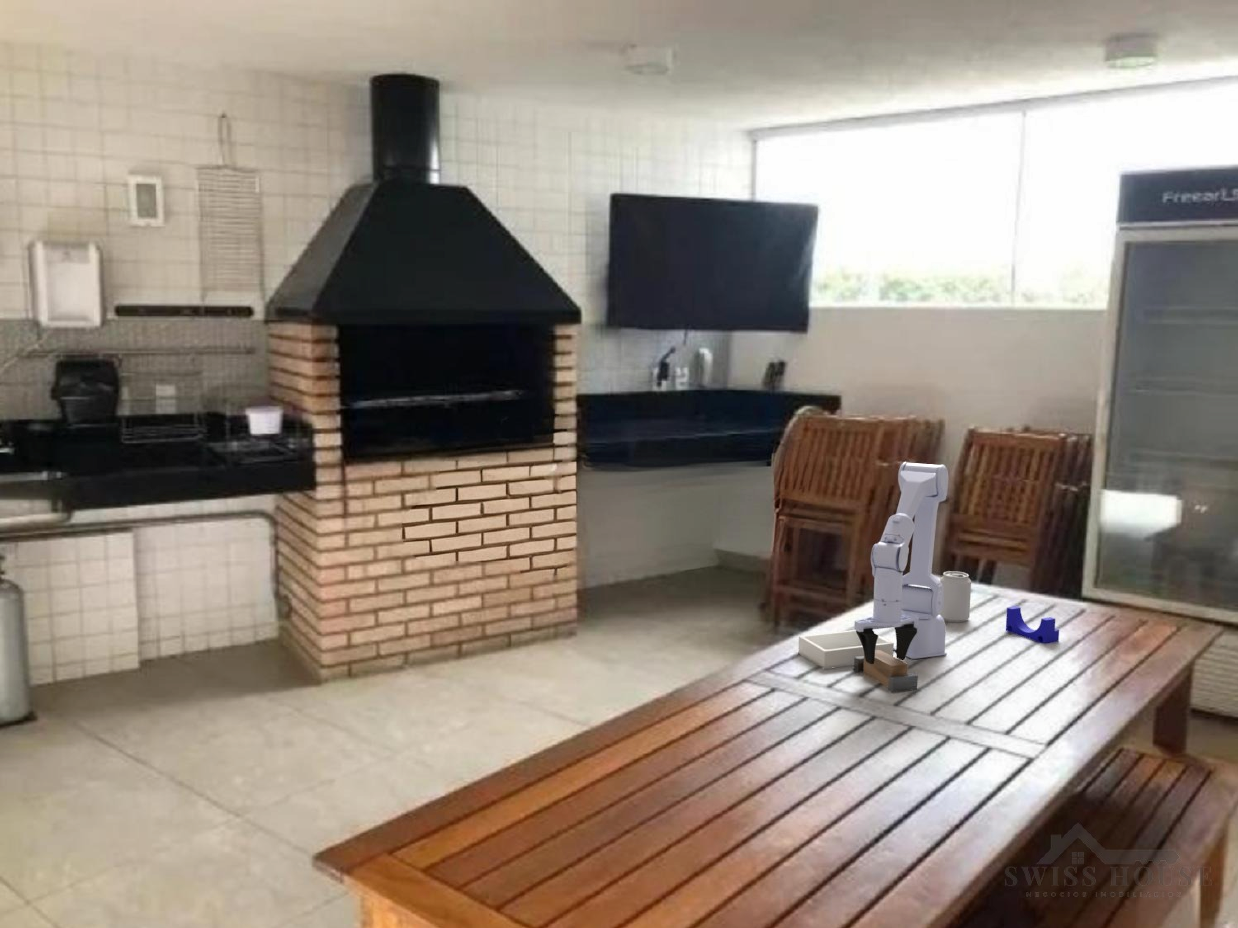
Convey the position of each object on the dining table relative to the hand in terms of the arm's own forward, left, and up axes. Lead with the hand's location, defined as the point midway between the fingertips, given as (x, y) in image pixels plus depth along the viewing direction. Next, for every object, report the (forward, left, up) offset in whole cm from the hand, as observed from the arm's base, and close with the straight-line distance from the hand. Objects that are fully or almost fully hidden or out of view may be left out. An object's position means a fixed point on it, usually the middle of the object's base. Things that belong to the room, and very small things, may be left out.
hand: (885, 660), depth 223 cm
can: (-42, -33, -4) cm, 54 cm away
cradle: (0, 0, -4) cm, 4 cm away
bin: (0, -16, -4) cm, 17 cm away
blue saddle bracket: (-51, -15, -5) cm, 53 cm away
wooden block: (0, 0, -4) cm, 4 cm away
